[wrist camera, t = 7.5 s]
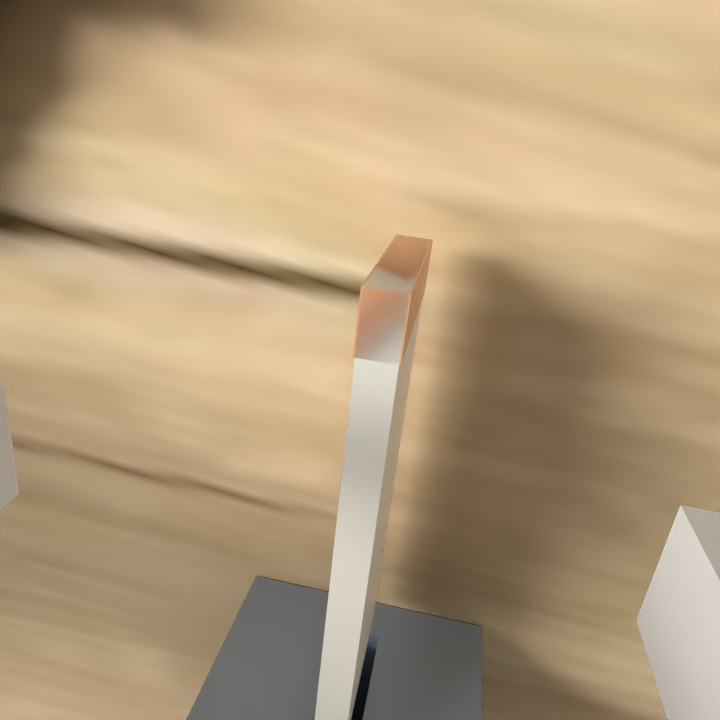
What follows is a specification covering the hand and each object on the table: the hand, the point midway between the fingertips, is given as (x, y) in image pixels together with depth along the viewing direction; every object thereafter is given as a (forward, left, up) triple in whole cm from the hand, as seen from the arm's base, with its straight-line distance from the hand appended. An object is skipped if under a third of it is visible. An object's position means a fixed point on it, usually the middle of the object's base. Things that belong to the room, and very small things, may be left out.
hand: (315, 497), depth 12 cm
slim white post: (0, -6, -12) cm, 14 cm away
